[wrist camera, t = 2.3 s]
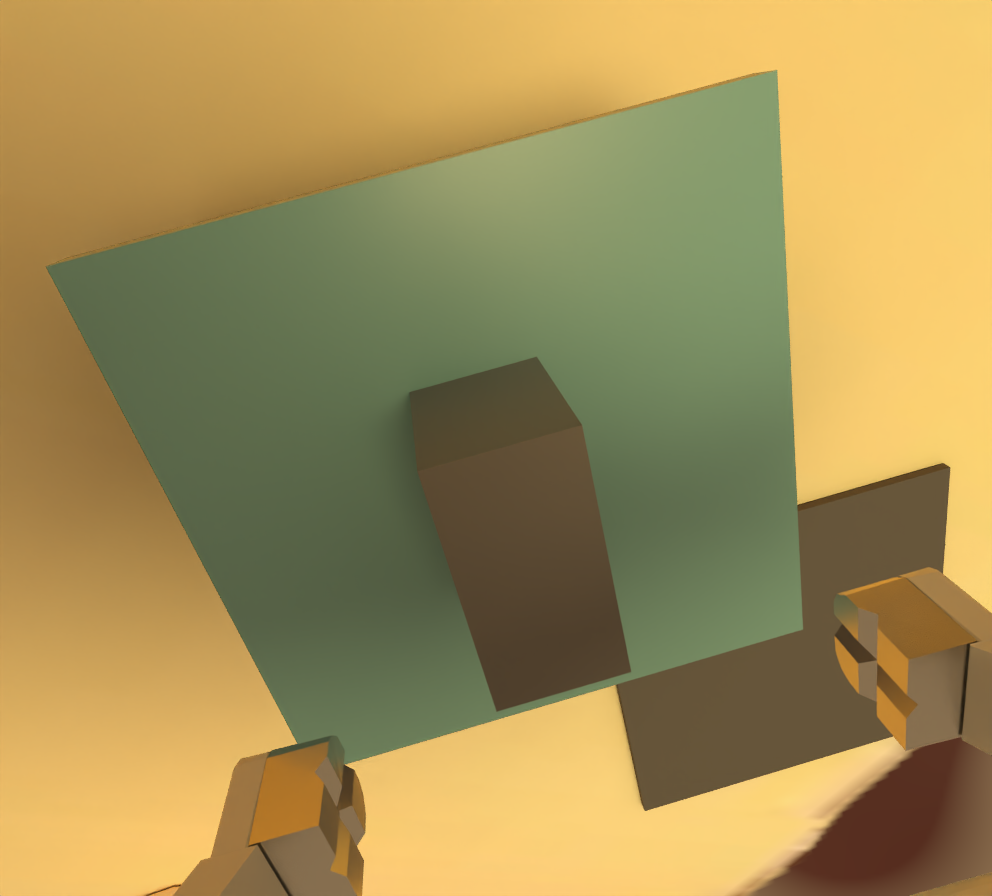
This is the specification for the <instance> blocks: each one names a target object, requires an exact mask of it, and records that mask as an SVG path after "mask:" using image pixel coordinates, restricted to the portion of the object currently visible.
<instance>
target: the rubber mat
mask: <svg viewBox="0 0 992 896" xmlns="http://www.w3.org/2000/svg"><path fill="white" fill-rule="evenodd" d="M949 478H950V467H949V466H947V465H945V464H944V463H943V464H939V465H936V466H932V467H929V468H926V469H922V470H919V471H915V472H912V473H908V474H905V475H901V476H898V477H894V478H891V479H888V480H884V481H881V482H877V483H874V484H870V485H867V486H863V487H860V488H856V489H853V490H849V491H846V492H843V493H839V494H836V495H832V496H829V497H825V498H822V499H818V500H815V501H811V502H808V503H804V504H801V505H798V506H797V510H798V532H799V553H800V575H801V596H802V618H803V630H799V631H796V632H793V633H789V634H786V635H783V636H779V637H776V638H772V639H769V640H766V641H762V642H759V643H755V644H752V645H749V646H745V647H742V648H738V649H735V650H732V651H728V652H725V653H721V654H718V655H715V656H711V657H708V658H705V659H701V660H698V661H694V662H691V663H688V664H684V665H681V666H677V667H674V668H671V669H667V670H664V671H660V672H657V673H654V674H650V675H647V676H643V677H640V678H637V679H633V680H630V681H626V682H623V683H620V684H616V685H617V689H618V694H619V699H620V703H621V708H622V712H623V717H624V722H625V726H626V731H627V736H628V740H629V745H630V750H631V754H632V759H633V764H634V768H635V773H636V778H637V782H638V787H639V791H640V796H641V801H642V805H643V808H644V810H645V811H647V810H650V809H653V808H657V807H660V806H663V805H667V804H670V803H673V802H677V801H680V800H683V799H687V798H690V797H693V796H697V795H700V794H703V793H707V792H710V791H713V790H717V789H720V788H723V787H726V786H730V785H733V784H736V783H740V782H743V781H746V780H750V779H753V778H756V777H760V776H763V775H766V774H770V773H773V772H776V771H780V770H783V769H786V768H790V767H793V766H796V765H800V764H803V763H806V762H810V761H813V760H816V759H820V758H823V757H826V756H829V755H833V754H836V753H839V752H843V751H846V750H849V749H853V748H856V747H859V746H863V745H866V744H869V743H873V742H876V741H879V740H883V739H886V738H889V737H893V735H892V734H891V733H890V731H889V730H888V729H887V728H886V727H885V725H884V724H883V723H882V722H881V721H880V719H879V718H878V717H877V702H876V701H874V700H871V699H869V698H867V697H864V696H862V695H860V694H858V692H857V691H856V690H855V689H854V687H853V686H852V685H851V684H850V682H849V681H848V679H847V677H846V676H845V674H844V672H843V670H842V669H841V666H840V663H839V660H838V657H837V654H836V650H835V636H834V635H835V634H836V632H837V631H838V629H839V628H840V626H841V625H842V623H841V621H840V620H839V619H838V618H837V617H836V616H835V615H834V600H835V597H836V595H837V594H838V593H842V592H845V591H849V590H852V589H856V588H859V587H863V586H866V585H870V584H873V583H876V582H880V581H883V580H887V579H890V578H894V577H898V576H900V575H904V574H907V573H910V572H914V571H917V570H921V569H924V568H928V567H930V568H933V569H936V570H938V571H940V572H941V573H942V574H943V564H944V550H945V535H946V521H947V507H948V492H949Z"/></svg>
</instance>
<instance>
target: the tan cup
mask: <svg viewBox="0 0 992 896" xmlns="http://www.w3.org/2000/svg"><path fill="white" fill-rule="evenodd" d="M179 887H180V886H178V887H172V888H169V889H166V890H163V891H160V892H157V893H155V894H152V895H149V896H173V894H174V893H175V892H176V891H177V890H178V888H179Z"/></svg>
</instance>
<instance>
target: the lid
mask: <svg viewBox="0 0 992 896" xmlns="http://www.w3.org/2000/svg"><path fill="white" fill-rule="evenodd" d="M46 268H47V270H48V272H49V274H50V276H51V277H52V279H53V281H54V283H55V285H56V287H57V289H58V291H59V293H60V294H61V296H62V298H63V300H64V302H65V304H66V306H67V308H68V310H69V312H70V313H71V315H72V317H73V319H74V321H75V323H76V325H77V327H78V329H79V330H80V332H81V334H82V336H83V338H84V340H85V342H86V344H87V346H88V348H89V349H90V351H91V353H92V355H93V357H94V359H95V361H96V363H97V365H98V366H99V368H100V370H101V372H102V374H103V376H104V378H105V380H106V382H107V384H108V385H109V387H110V389H111V391H112V393H113V395H114V397H115V399H116V401H117V403H118V404H119V406H120V408H121V410H122V412H123V414H124V416H125V418H126V420H127V421H128V423H129V425H130V427H131V429H132V431H133V433H134V435H135V437H136V439H137V440H138V442H139V444H140V446H141V448H142V450H143V452H144V454H145V456H146V457H147V459H148V461H149V463H150V465H151V467H152V469H153V471H154V473H155V475H156V476H157V478H158V480H159V482H160V484H161V486H162V488H163V490H164V492H165V493H166V495H167V497H168V499H169V501H170V503H171V505H172V507H173V509H174V511H175V512H176V514H177V516H178V518H179V520H180V522H181V524H182V526H183V528H184V529H185V531H186V533H187V535H188V537H189V539H190V541H191V543H192V545H193V547H194V548H195V550H196V552H197V554H198V556H199V558H200V560H201V562H202V564H203V565H204V567H205V569H206V571H207V573H208V575H209V577H210V579H211V581H212V583H213V584H214V586H215V588H216V590H217V592H218V594H219V596H220V598H221V600H222V601H223V603H224V605H225V607H226V609H227V611H228V613H229V615H230V617H231V619H232V620H233V622H234V624H235V626H236V628H237V630H238V632H239V634H240V636H241V637H242V639H243V641H244V643H245V645H246V647H247V649H248V651H249V653H250V655H251V656H252V658H253V660H254V662H255V664H256V666H257V668H258V670H259V672H260V673H261V675H262V677H263V679H264V681H265V683H266V685H267V687H268V689H269V691H270V692H271V694H272V696H273V698H274V700H275V702H276V704H277V706H278V708H279V709H280V711H281V713H282V715H283V717H284V719H285V721H286V723H287V725H288V727H289V728H290V730H291V732H292V734H293V736H294V738H295V740H296V742H297V744H299V743H303V742H307V741H311V740H315V739H319V738H323V737H327V736H331V735H333V736H337V737H338V739H339V740H340V742H341V744H342V746H343V748H344V750H345V756H344V765H345V764H348V763H352V762H355V761H359V760H362V759H365V758H369V757H372V756H376V755H379V754H382V753H386V752H389V751H392V750H396V749H399V748H403V747H406V746H409V745H413V744H416V743H420V742H423V741H426V740H430V739H433V738H437V737H440V736H443V735H447V734H450V733H454V732H457V731H460V730H464V729H467V728H470V727H474V726H477V725H481V724H484V723H487V722H491V721H494V720H498V719H501V718H504V717H508V716H511V715H515V714H518V713H521V712H525V711H528V710H532V709H535V708H538V707H542V706H545V705H548V704H552V703H555V702H559V701H562V700H565V699H569V698H572V697H576V696H579V695H582V694H586V693H589V692H593V691H596V690H599V689H603V688H606V687H610V686H613V685H616V684H620V683H623V682H626V681H630V680H633V679H637V678H640V677H643V676H647V675H650V674H654V673H657V672H660V671H664V670H667V669H671V668H674V667H677V666H681V665H684V664H688V663H691V662H694V661H698V660H701V659H705V658H708V657H711V656H715V655H718V654H721V653H725V652H728V651H732V650H735V649H738V648H742V647H745V646H749V645H752V644H755V643H759V642H762V641H766V640H769V639H772V638H776V637H779V636H783V635H786V634H789V633H793V632H796V631H799V630H803V618H802V596H801V575H800V553H799V532H798V510H797V489H796V467H795V446H794V424H793V402H792V381H791V359H790V338H789V316H788V295H787V273H786V252H785V230H784V209H783V187H782V165H781V144H780V122H779V101H778V79H777V70H775V71H767V72H760V73H753V74H749V75H746V76H742V77H738V78H734V79H731V80H727V81H723V82H720V83H716V84H712V85H708V86H705V87H701V88H697V89H694V90H690V91H686V92H682V93H679V94H675V95H671V96H667V97H664V98H660V99H656V100H653V101H649V102H645V103H641V104H638V105H634V106H630V107H627V108H623V109H619V110H615V111H612V112H608V113H604V114H600V115H597V116H593V117H589V118H586V119H582V120H578V121H574V122H571V123H567V124H563V125H560V126H556V127H552V128H548V129H545V130H541V131H537V132H533V133H530V134H526V135H522V136H519V137H515V138H511V139H507V140H504V141H500V142H496V143H493V144H489V145H485V146H481V147H478V148H474V149H470V150H466V151H463V152H459V153H455V154H452V155H448V156H444V157H440V158H437V159H433V160H429V161H426V162H422V163H418V164H414V165H411V166H407V167H403V168H399V169H396V170H392V171H388V172H385V173H381V174H377V175H373V176H370V177H366V178H362V179H359V180H355V181H351V182H347V183H344V184H340V185H336V186H332V187H329V188H325V189H321V190H318V191H314V192H310V193H306V194H303V195H299V196H295V197H292V198H288V199H284V200H280V201H277V202H273V203H269V204H265V205H262V206H258V207H254V208H251V209H247V210H243V211H239V212H236V213H232V214H228V215H225V216H221V217H217V218H213V219H210V220H206V221H202V222H198V223H195V224H191V225H187V226H184V227H180V228H176V229H172V230H169V231H165V232H161V233H158V234H154V235H150V236H146V237H143V238H139V239H135V240H131V241H128V242H124V243H120V244H117V245H113V246H109V247H105V248H102V249H98V250H94V251H91V252H87V253H83V254H79V255H76V256H72V257H68V258H65V259H63V260H61V261H58V262H56V263H53V264H51V265H49V266H46Z"/></svg>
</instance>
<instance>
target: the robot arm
mask: <svg viewBox="0 0 992 896" xmlns="http://www.w3.org/2000/svg"><path fill="white" fill-rule="evenodd" d="M834 615H835V616H836V617H837V618H838V619H839V620H840V621H841V623H842V625H841V626H840V628H839V629H838V631H837V632H836V634H835V635H834V636H835V650H836V654H837V657H838V660H839V663H840V666H841V669H842V670H843V672H844V674H845V676H846V677H847V679H848V681H849V682H850V684H851V685H852V686H853V687H854V689H855V690H856V691H857V692H858V694H860V695H862V696H864V697H867V698H869V699H871V700H874V701H876V702H877V717H878V718H879V719H880V721H881V722H882V723H883V724H884V725H885V727H886V728H887V729H888V730H889V731H890V733H891V734H892V735H893V736H894V738H895V739H896V740H897V741H898V742H899V744H900V745H901V746H902V747H903V748H904V750H905V751H906V750H910V749H914V748H918V747H922V746H926V745H930V744H934V743H938V742H942V741H946V740H950V739H954V738H958V737H962V740H963V741H965V742H967V743H969V744H971V745H973V746H974V747H976V748H978V749H980V750H982V751H984V752H986V753H987V754H989V755H991V756H992V613H991V612H989V611H988V610H987V609H986V608H984V607H983V606H982V605H981V604H979V603H978V602H977V601H976V600H975V599H973V598H972V597H971V596H970V595H968V594H967V593H966V592H965V591H963V590H962V589H961V588H960V587H958V586H957V585H956V584H955V583H953V582H952V581H951V580H950V579H948V578H947V577H946V576H945V575H943V574H942V573H941V572H940V571H938V570H936V569H933V568H930V567H928V568H924V569H921V570H917V571H914V572H910V573H907V574H904V575H900V576H898V577H894V578H890V579H887V580H883V581H880V582H876V583H873V584H870V585H866V586H863V587H859V588H856V589H852V590H849V591H845V592H842V593H838V594H837V595H836V597H835V600H834ZM344 756H345V750H344V748H343V746H342V744H341V742H340V740H339V739H338V737H337V736H333V735H331V736H327V737H323V738H319V739H315V740H311V741H307V742H303V743H299V744H295V745H291V746H287V747H283V748H279V749H275V750H272V751H271V752H267V753H263V754H259V755H255V756H250V757H246V758H242V759H240V761H239V762H238V763H237V765H236V766H235V768H234V770H233V774H232V778H231V782H230V786H229V789H228V793H227V797H226V801H225V805H224V808H223V812H222V816H221V820H220V824H219V828H218V831H217V835H216V839H215V843H214V847H213V850H212V854H211V858H208V859H205V860H201V861H200V862H199V864H198V865H197V866H196V867H195V869H194V870H193V871H192V872H191V874H190V875H189V876H188V877H187V878H186V880H185V881H184V882H183V883H182V885H181V886H180V887H179V888H178V890H177V891H176V892H175V893H174V894H173V896H362V886H363V867H364V860H363V858H362V856H361V854H360V852H359V850H358V848H357V845H358V843H359V842H360V840H361V839H362V837H363V835H364V834H365V822H366V813H365V805H364V797H363V792H362V789H361V785H360V782H359V779H358V777H357V775H356V773H355V771H354V770H353V769H351V768H349V767H347V766H345V765H344ZM910 896H992V872H991V873H987V874H984V875H980V876H977V877H973V878H970V879H966V880H963V881H959V882H956V883H952V884H949V885H945V886H942V887H938V888H935V889H931V890H928V891H924V892H921V893H918V894H914V895H910Z"/></svg>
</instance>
